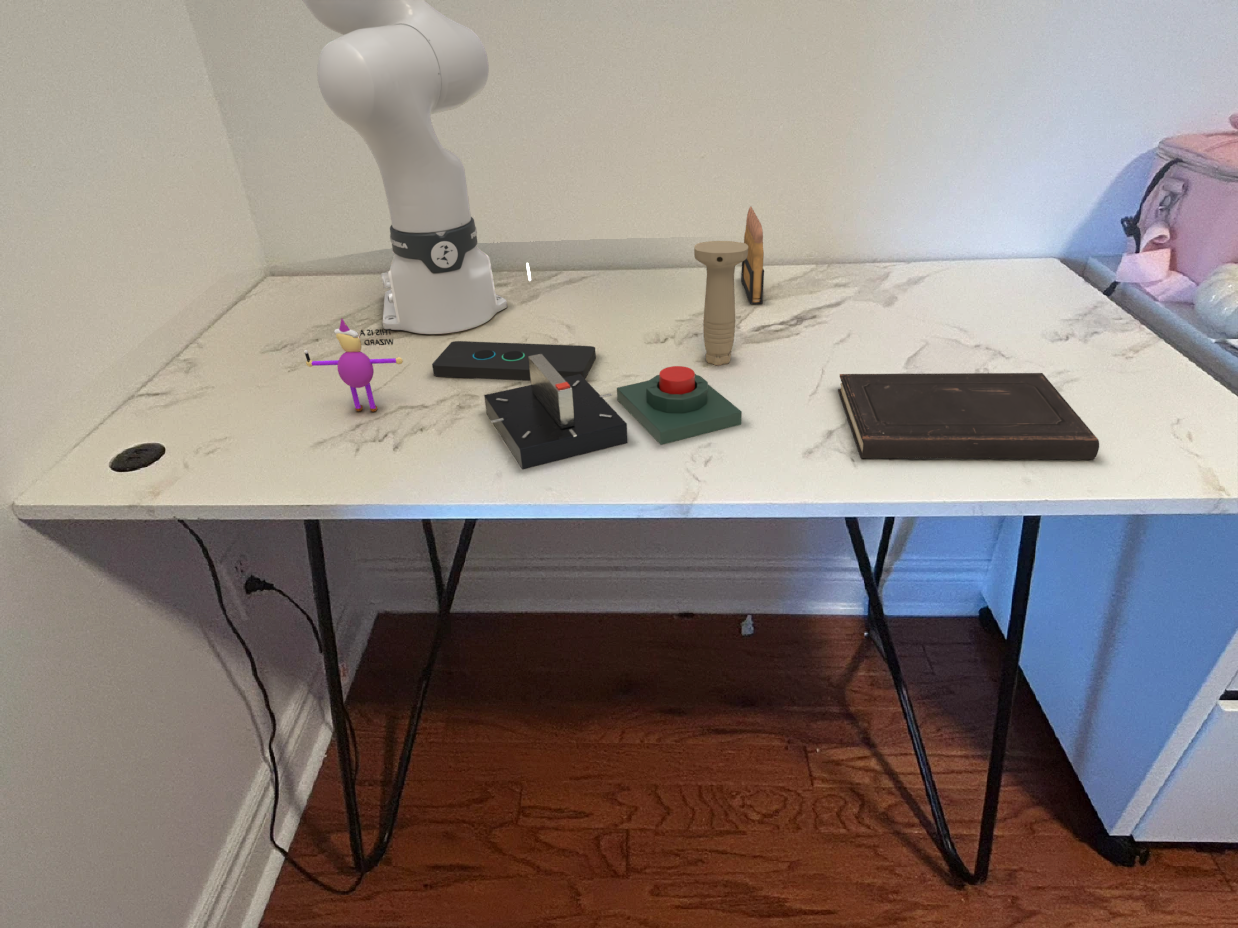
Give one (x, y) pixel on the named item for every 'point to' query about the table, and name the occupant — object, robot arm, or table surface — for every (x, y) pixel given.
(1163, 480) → the table surface
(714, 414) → the button box
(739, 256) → the handle
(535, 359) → the knob
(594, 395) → the control panel
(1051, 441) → the hardcover book
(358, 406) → the wizard figurine
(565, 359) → the smart home device
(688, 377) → the button
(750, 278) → the ammunition clip
